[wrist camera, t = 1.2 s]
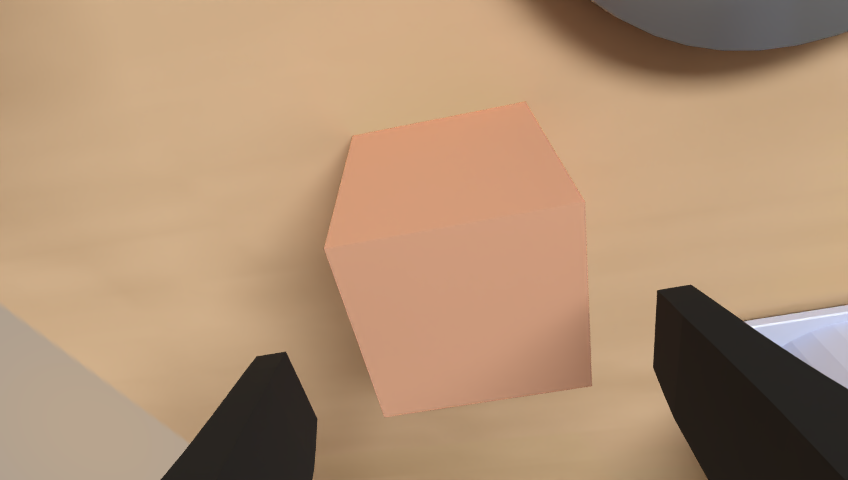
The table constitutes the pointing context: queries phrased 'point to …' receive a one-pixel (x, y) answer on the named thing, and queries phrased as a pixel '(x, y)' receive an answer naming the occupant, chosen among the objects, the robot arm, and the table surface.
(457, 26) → the table surface
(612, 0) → the dish
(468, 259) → the block
